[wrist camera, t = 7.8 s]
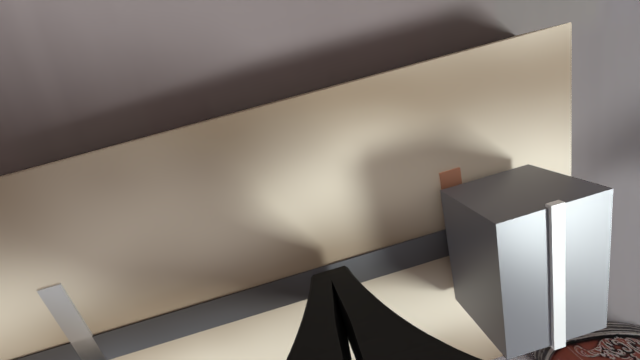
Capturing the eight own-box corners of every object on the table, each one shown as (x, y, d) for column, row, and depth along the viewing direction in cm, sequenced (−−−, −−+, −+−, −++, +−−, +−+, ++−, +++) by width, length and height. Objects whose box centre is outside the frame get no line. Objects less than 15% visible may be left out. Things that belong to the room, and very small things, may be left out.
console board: (529, 299, 17) (572, 334, 14) (69, 446, 16) (30, 511, 13) (516, 35, 13) (573, 21, 10) (-115, 207, 11) (-222, 238, 9)
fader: (533, 276, 13) (609, 332, 10) (455, 301, 13) (509, 364, 10) (528, 161, 11) (617, 186, 8) (439, 187, 11) (498, 222, 8)
